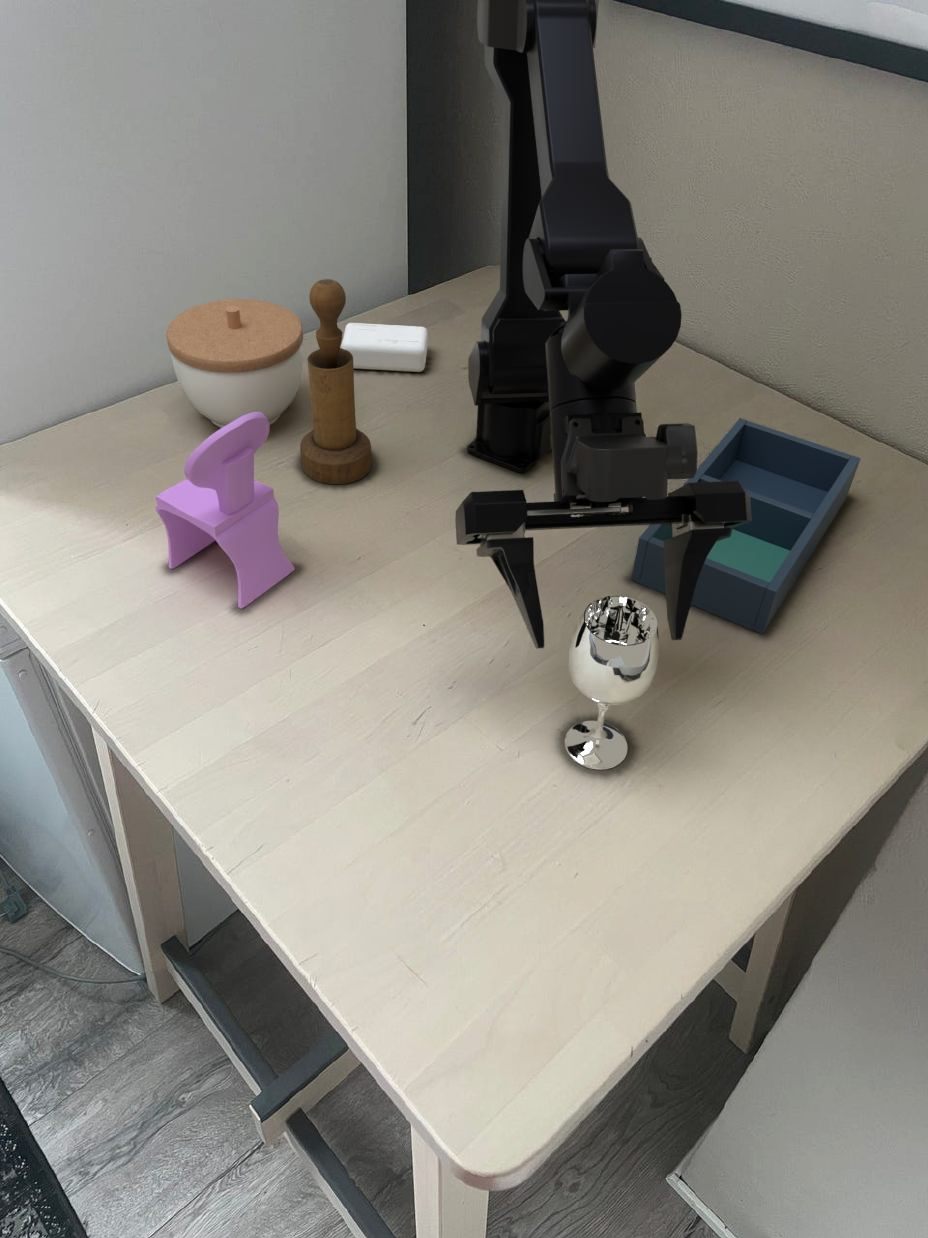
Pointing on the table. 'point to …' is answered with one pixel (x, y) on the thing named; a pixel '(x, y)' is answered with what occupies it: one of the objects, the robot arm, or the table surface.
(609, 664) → the wineglass
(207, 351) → the lidded bowl
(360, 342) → the soap
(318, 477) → the mortar and pestle
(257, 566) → the toy chair
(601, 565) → the table surface
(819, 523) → the divided storage tray
